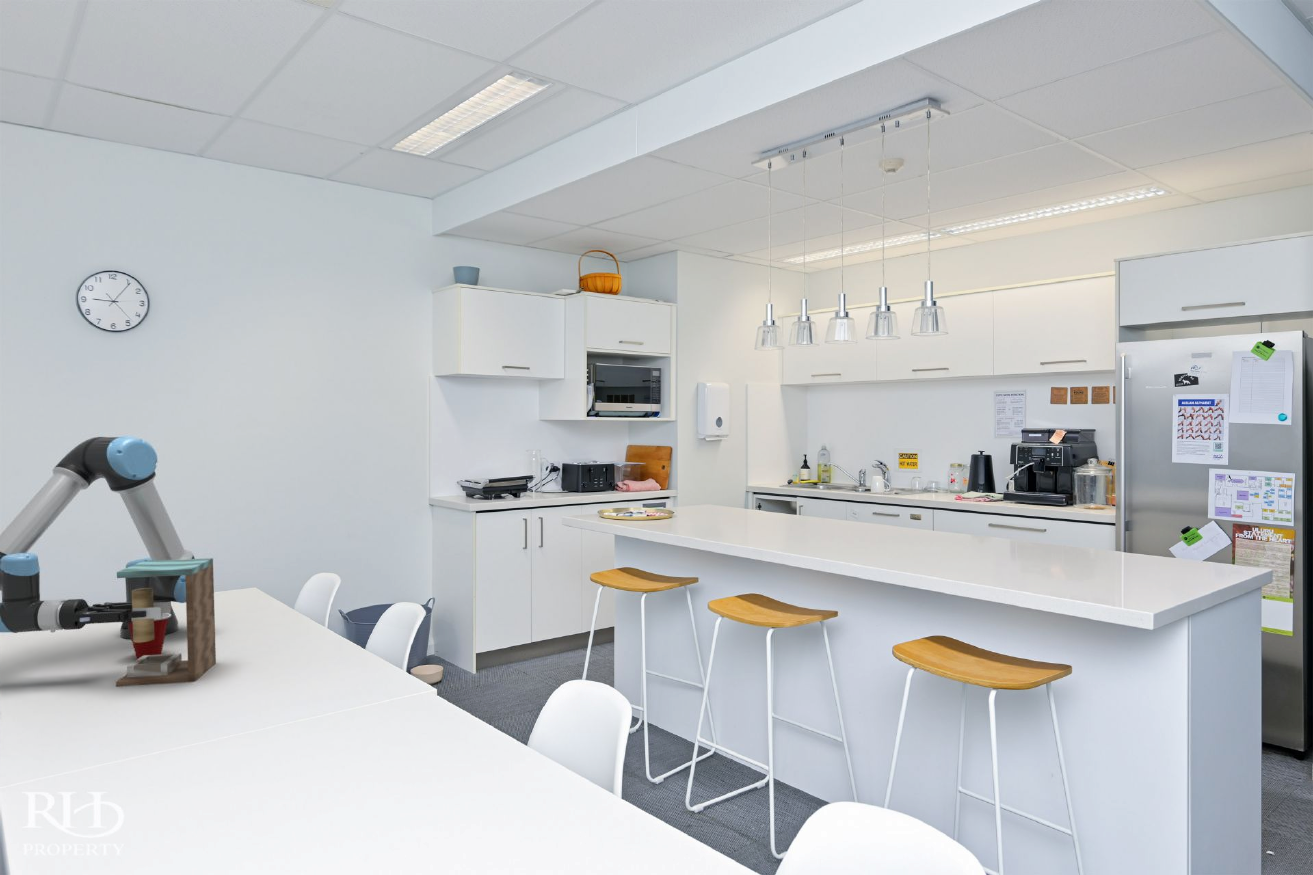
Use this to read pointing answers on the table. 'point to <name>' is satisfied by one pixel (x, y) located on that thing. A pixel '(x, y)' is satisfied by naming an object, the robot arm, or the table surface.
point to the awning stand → (198, 624)
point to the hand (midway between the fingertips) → (165, 609)
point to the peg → (142, 627)
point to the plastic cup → (154, 645)
